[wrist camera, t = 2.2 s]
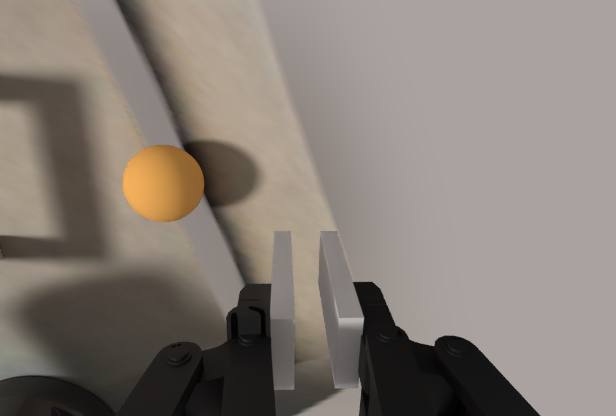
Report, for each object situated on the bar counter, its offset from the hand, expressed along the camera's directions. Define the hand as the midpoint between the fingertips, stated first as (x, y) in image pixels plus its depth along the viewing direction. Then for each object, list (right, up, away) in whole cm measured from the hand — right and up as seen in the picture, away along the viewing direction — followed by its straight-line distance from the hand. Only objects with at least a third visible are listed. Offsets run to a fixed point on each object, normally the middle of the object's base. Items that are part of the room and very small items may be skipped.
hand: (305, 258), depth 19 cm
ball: (-10, +4, +10) cm, 15 cm away
